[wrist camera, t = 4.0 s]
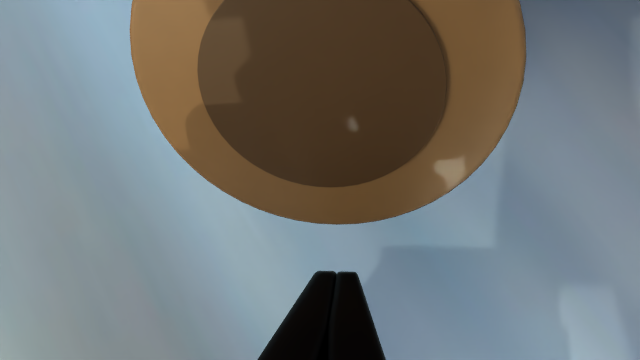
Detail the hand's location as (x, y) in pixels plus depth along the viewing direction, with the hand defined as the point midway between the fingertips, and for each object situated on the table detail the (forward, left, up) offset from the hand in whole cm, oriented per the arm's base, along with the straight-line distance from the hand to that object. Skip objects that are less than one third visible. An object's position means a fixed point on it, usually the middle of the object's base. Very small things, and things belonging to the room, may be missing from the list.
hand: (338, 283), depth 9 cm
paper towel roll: (+6, +6, -9) cm, 13 cm away
